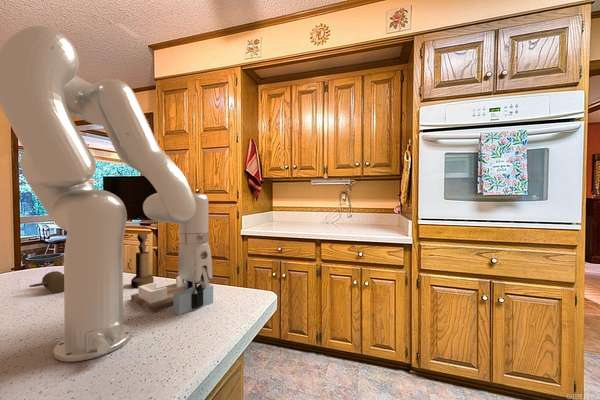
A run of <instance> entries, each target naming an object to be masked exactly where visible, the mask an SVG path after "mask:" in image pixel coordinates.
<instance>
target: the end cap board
mask: <svg viewBox="0 0 600 400" xmlns="http://www.w3.org/2000/svg"><path fill="white" fill-rule="evenodd" d="M164 287H167V299H163V300H160V301H157V302H153V303H149V302H147V301H145V300H143V299H141V298H140V297H138V293H134V294H131V295H130V300H131V301H132V302H133V303H135V304H137V305H139V306H141V307H142V308H144V309H146V310H147V311H149V312H151V313H158V312H160V311H163V310H166V309H170V308H172V307H173V303H174V292H178V291H181V290H184V289H183V286H181V287H176V282H175V283H172V284H167V285H164V286H161V287H158V288H157V287H156V289H160V288H164Z"/></svg>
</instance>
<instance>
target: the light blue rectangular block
mask: <svg viewBox="0 0 600 400" xmlns="http://www.w3.org/2000/svg"><path fill="white" fill-rule="evenodd" d="M197 287H198V286H197ZM192 294H193V287H192V288H188V289H185V290H181V291H178V292H174V303H173V313H175V314H176V315H179V316H181V315H183V314H186V313H189V312H191V311H194V310H196V309H200V308H202V307H205V306H207V305H211V304H213V303H214V285H213V284H210V285H209V286H208V287H206V288H205V291H204V292H203V306H201V307H198V308H195V309H192Z"/></svg>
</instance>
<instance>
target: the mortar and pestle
mask: <svg viewBox="0 0 600 400" xmlns="http://www.w3.org/2000/svg"><path fill="white" fill-rule="evenodd" d="M136 238H137V240H138V242H139V245H138V250H139V251H138V252H135V276H133V278H131V281H130V287H131V288H135V289H137V288H138V286H142V285H146V284H151V283H155V282H154V276H153V275H152V274H150V252H149V251H146V249H147V244H146V241H147V239H148V234H147V233H146V232H139V233H138V234H137V236H136Z"/></svg>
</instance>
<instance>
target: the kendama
mask: <svg viewBox="0 0 600 400" xmlns="http://www.w3.org/2000/svg"><path fill="white" fill-rule="evenodd" d="M41 279H42V280H41V282H39V283H34V284H30V285H29V286H28V287H29V288H36V287H42V286H43V287H44V288H45V289H48V291H49V292H50V293H51V294H55V295H57V294H61V293H62V294H63V293H64V273H62V272H61V271H58V270H57V271H56V270H53V271H51V272H47V273H46V274H44V275H43V277H42V278H41Z"/></svg>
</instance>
